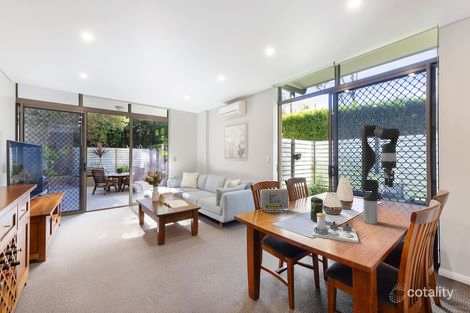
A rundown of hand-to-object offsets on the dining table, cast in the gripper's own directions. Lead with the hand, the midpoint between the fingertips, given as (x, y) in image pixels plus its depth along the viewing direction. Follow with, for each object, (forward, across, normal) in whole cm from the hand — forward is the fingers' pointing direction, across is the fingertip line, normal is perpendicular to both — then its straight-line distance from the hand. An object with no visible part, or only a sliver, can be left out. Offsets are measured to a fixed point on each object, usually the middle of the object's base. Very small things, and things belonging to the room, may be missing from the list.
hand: (388, 186), depth 127 cm
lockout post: (+32, +10, -39) cm, 51 cm away
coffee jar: (+33, -18, -43) cm, 57 cm away
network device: (+33, -33, -81) cm, 94 cm away
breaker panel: (+33, +5, -31) cm, 46 cm away
